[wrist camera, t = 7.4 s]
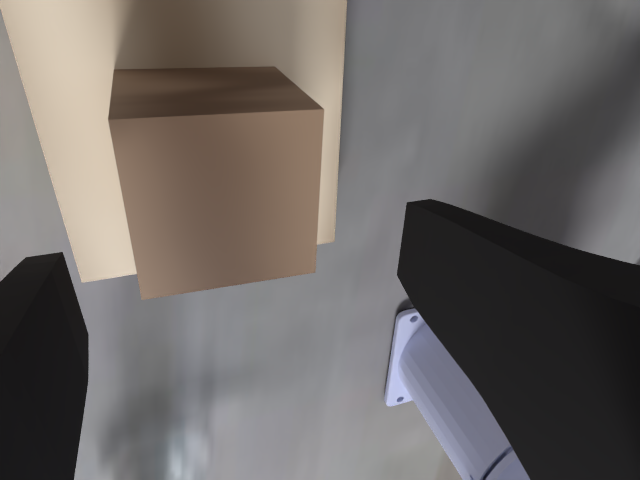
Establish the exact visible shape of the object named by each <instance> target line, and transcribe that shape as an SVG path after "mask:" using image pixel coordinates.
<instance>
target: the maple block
mask: <svg viewBox="0 0 640 480" xmlns="http://www.w3.org/2000/svg"><path fill="white" fill-rule="evenodd" d="M0 9H1V12H2V15H3V19H4V22H5V25H6V29H7V32H8V35H9V39H10V42H11V46H12V49H13V52H14V56H15V59H16V62H17V66H18V69H19V72H20V76H21V79H22V83H23V86H24V89H25V93H26V96H27V99H28V103H29V106H30V109H31V113H32V116H33V120H34V123H35V126H36V130H37V133H38V136H39V140H40V143H41V146H42V150H43V153H44V157H45V160H46V163H47V167H48V170H49V173H50V177H51V180H52V184H53V187H54V190H55V194H56V197H57V200H58V204H59V207H60V210H61V214H62V217H63V221H64V224H65V227H66V231H67V234H68V237H69V241H70V244H71V247H72V251H73V254H74V258H75V261H76V264H77V268H78V271H79V274H80V278H81V281H82V283H84V282H90V281H96V280H102V279H108V278H114V277H120V276H127V275H133V274H137V271H136V266H135V261H134V255H133V250H132V245H131V240H130V234H129V229H128V224H127V218H126V213H125V208H124V202H123V197H122V192H121V186H120V181H119V176H118V170H117V165H116V160H115V154H114V149H113V144H112V138H111V133H110V128H109V122H108V115H109V107H110V98H111V89H112V80H113V72H114V69H163V68H215V67H269V66H275V67H276V68H277V69H278V70H279V71H281V72H282V73H283V74H284V75H285V76H286V77H288V78H289V79H290V80H291V81H292V82H293V83H295V84H296V85H297V86H298V87H299V88H300V89H301V90H303V91H304V92H305V93H306V94H307V95H308V96H310V97H311V98H312V99H313V100H314V101H315V102H317V103H318V104H319V105H320V106H321V107H322V108H323V109H324V123H323V141H322V160H321V178H320V196H319V214H318V233H317V244H323V243H329V242H334V240H335V221H336V202H337V183H338V164H339V144H340V125H341V106H342V87H343V68H344V48H345V29H346V10H347V0H0Z"/></svg>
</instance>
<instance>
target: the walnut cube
mask: <svg viewBox="0 0 640 480" xmlns="http://www.w3.org/2000/svg"><path fill="white" fill-rule="evenodd" d="M108 122H109V128H110V133H111V138H112V144H113V149H114V154H115V160H116V165H117V170H118V176H119V181H120V186H121V192H122V197H123V202H124V208H125V213H126V218H127V224H128V229H129V234H130V240H131V245H132V250H133V255H134V261H135V266H136V271H137V277H138V282H139V287H140V293H141V298H142V300H145V299H151V298H157V297H164V296H170V295H176V294H183V293H189V292H195V291H201V290H208V289H214V288H220V287H227V286H233V285H239V284H246V283H252V282H258V281H265V280H271V279H277V278H284V277H290V276H296V275H302V274H309V273H315V269H316V251H317V233H318V214H319V196H320V178H321V160H322V141H323V123H324V109H323V108H322V107H321V106H320V105H319V104H318V103H317V102H315V101H314V100H313V99H312V98H311V97H310V96H308V95H307V94H306V93H305V92H304V91H303V90H301V89H300V88H299V87H298V86H297V85H296V84H295V83H293V82H292V81H291V80H290V79H289V78H288V77H286V76H285V75H284V74H283V73H282V72H281V71H279V70H278V69H277V68H276V67H275V66H269V67H215V68H163V69H114V72H113V80H112V89H111V98H110V107H109V115H108Z"/></svg>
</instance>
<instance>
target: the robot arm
mask: <svg viewBox="0 0 640 480" xmlns="http://www.w3.org/2000/svg"><path fill="white" fill-rule="evenodd" d="M397 276H398V278H399V280H400V282H401V284H402V285H403V287H404V289H405V291H406V293H407V295H408V297H409V298H410V300H411V302H412V304H413V305H414V307H415V308H414V309H409V310H405V311H402V312H400V313H399V314H398V315H397V318H396V323H395V329H394V336H393V343H392V350H391V357H390V363H389V370H388V377H387V384H386V391H385V398H384V401H385V403H386V405H388V406H394V405H398V404H401V403H405V402H408V401H412V400H413V401H414V402H415V404H416V405H417V407H418V409H419V410H420V412H421V413H422V415H423V417H424V418H425V420H426V421H427V423H428V425H429V426H430V428H431V429H432V431H433V433H434V434H435V436H436V437H437V439H438V441H439V442H440V444H441V445H442V447H443V449H444V450H445V452H446V453H447V455H448V457H449V458H450V460H451V461H452V463H453V464H454V466H455V468H456V469H457V471H458V472H459V474H460V476H461V477H462V479H463V480H640V265H636V264H631V263H627V262H623V261H619V260H615V259H611V258H607V257H603V256H600V255H596V254H592V253H588V252H585V251H581V250H578V249H575V248H571V247H568V246H565V245H562V244H559V243H556V242H553V241H550V240H547V239H544V238H541V237H538V236H535V235H532V234H529V233H526V232H523V231H521V230H518V229H515V228H512V227H510V226H507V225H504V224H502V223H499V222H496V221H494V220H491V219H488V218H486V217H483V216H480V215H478V214H475V213H472V212H470V211H467V210H464V209H462V208H459V207H456V206H453V205H450V204H447V203H443V202H440V201H436V200H432V199H428V200H421V201H414V202H407V205H406V213H405V220H404V227H403V234H402V242H401V249H400V256H399V264H398V271H397ZM87 385H88V332H87V329H86V325H85V322H84V319H83V316H82V313H81V309H80V306H79V303H78V300H77V297H76V293H75V290H74V287H73V284H72V281H71V277H70V274H69V271H68V268H67V265H66V261H65V258H64V255H63V252H60V253H53V254H46V255H39V256H32V257H26V258H25V259H24V260H22V261H21V262H20V263H19V264H18V265H17V266H16V267H15V268H14V269H13V270H12V271H11V272H10V273H9V274H8V275H7V276H6V277H5V278H4V279H3V280H2V281H1V282H0V480H74V474H75V468H76V461H77V454H78V448H79V441H80V434H81V428H82V421H83V414H84V407H85V400H86V393H87Z"/></svg>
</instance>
